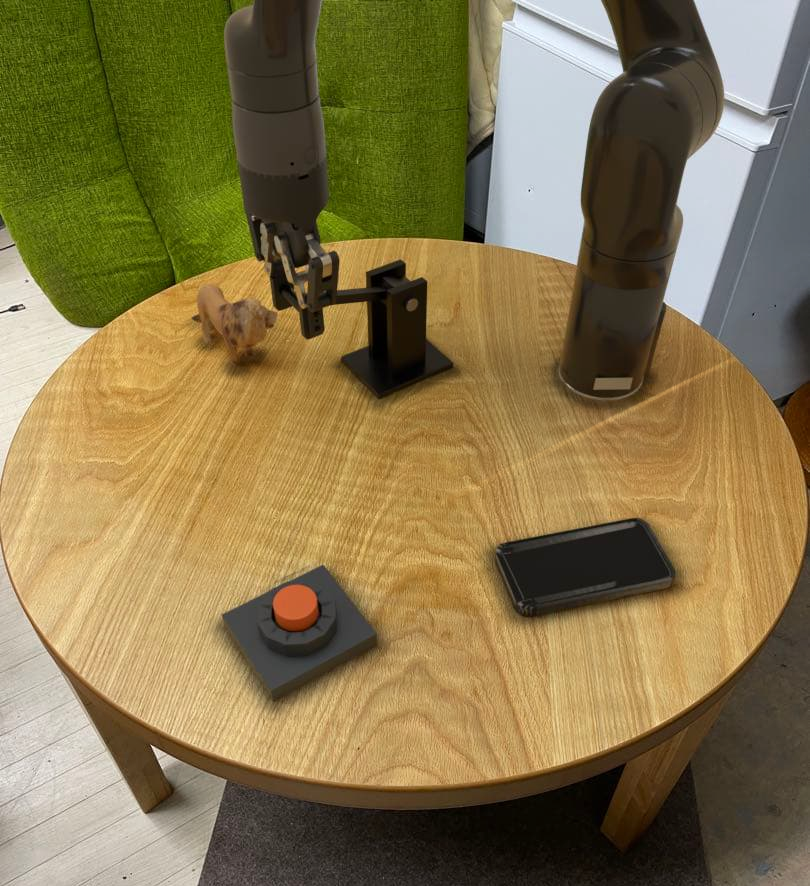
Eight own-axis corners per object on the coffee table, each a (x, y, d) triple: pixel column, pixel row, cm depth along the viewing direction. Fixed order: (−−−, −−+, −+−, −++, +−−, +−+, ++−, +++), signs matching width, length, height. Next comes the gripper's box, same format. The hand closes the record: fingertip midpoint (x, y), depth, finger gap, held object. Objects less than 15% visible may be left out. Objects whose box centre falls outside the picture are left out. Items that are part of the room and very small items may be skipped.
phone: (492, 544, 80) (643, 515, 82) (491, 552, 80) (641, 523, 83) (520, 612, 75) (680, 579, 77) (519, 620, 75) (677, 587, 78)
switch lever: (302, 325, 83) (305, 303, 82) (277, 300, 86) (280, 278, 84) (417, 312, 91) (423, 291, 89) (391, 289, 94) (396, 268, 92)
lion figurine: (289, 366, 99) (281, 297, 92) (253, 387, 96) (242, 319, 89) (210, 313, 105) (196, 246, 98) (174, 332, 103) (157, 264, 96)
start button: (305, 590, 74) (303, 577, 72) (326, 619, 72) (325, 606, 70) (267, 609, 72) (265, 596, 71) (288, 639, 70) (286, 626, 69)
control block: (324, 576, 79) (321, 551, 76) (377, 645, 74) (376, 621, 71) (224, 626, 75) (217, 601, 72) (273, 702, 70) (268, 679, 68)
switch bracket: (378, 403, 94) (376, 310, 85) (341, 365, 99) (334, 273, 90) (453, 371, 98) (458, 279, 89) (413, 335, 102) (414, 244, 93)
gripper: (203, 130, 76) (232, 298, 88) (283, 198, 68) (301, 372, 81) (279, 109, 78) (296, 276, 91) (364, 172, 71) (369, 344, 83)
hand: (298, 320), depth 86 cm, fingers closed on switch lever, 5 cm apart
